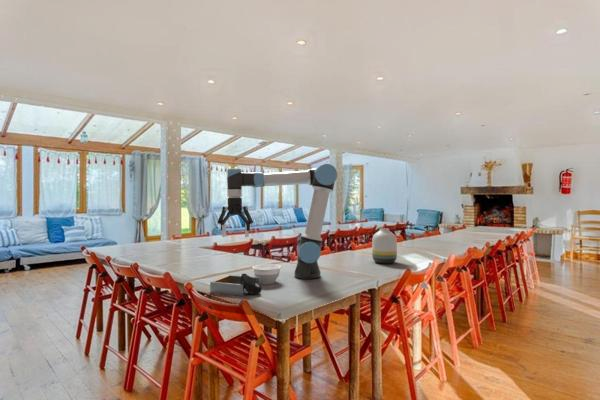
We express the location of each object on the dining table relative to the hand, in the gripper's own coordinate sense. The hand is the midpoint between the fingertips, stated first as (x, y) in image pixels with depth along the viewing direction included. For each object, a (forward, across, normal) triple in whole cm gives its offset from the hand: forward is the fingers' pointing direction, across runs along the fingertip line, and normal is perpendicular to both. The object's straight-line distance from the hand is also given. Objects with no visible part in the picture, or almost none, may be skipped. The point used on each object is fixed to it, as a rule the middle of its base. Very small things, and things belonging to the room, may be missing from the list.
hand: (235, 236), depth 186 cm
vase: (+26, -72, -84) cm, 114 cm away
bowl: (+25, -15, -6) cm, 30 cm away
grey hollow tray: (+25, -6, +13) cm, 29 cm away
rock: (+22, -12, +16) cm, 29 cm away
